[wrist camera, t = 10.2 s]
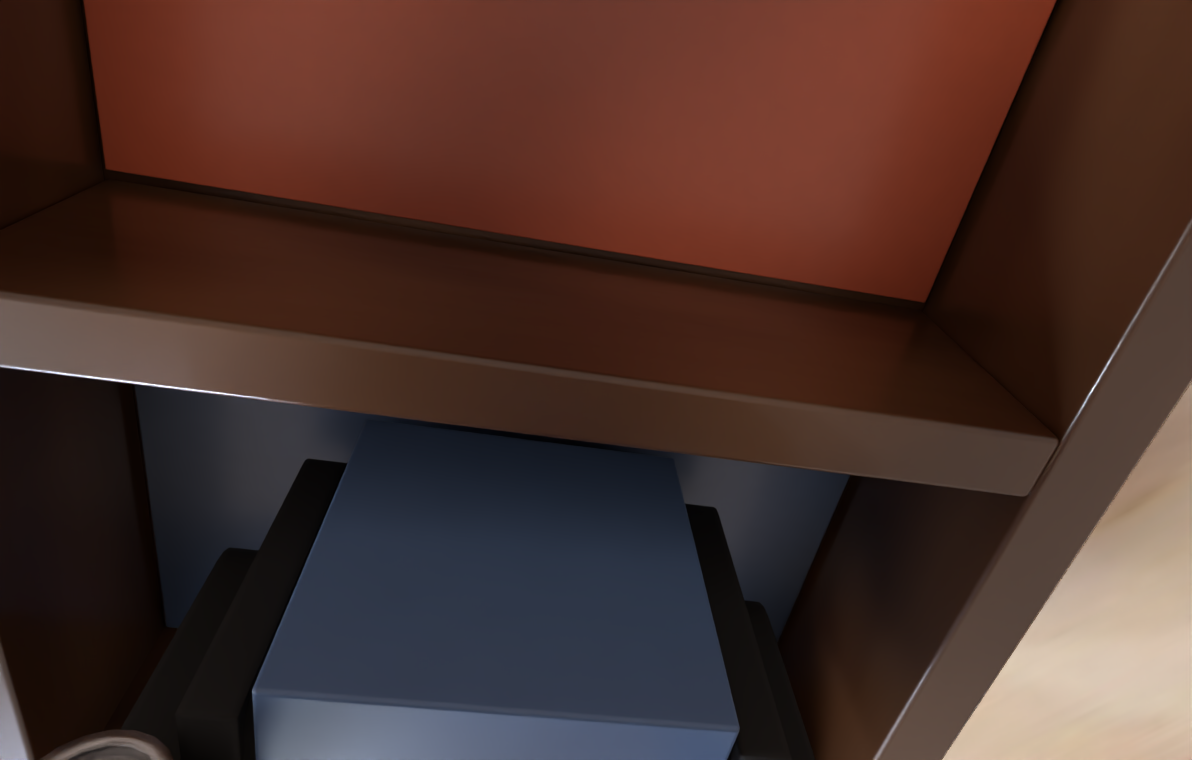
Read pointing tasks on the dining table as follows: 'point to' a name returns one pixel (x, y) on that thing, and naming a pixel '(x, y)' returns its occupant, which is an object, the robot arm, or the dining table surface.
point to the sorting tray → (592, 301)
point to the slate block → (497, 611)
